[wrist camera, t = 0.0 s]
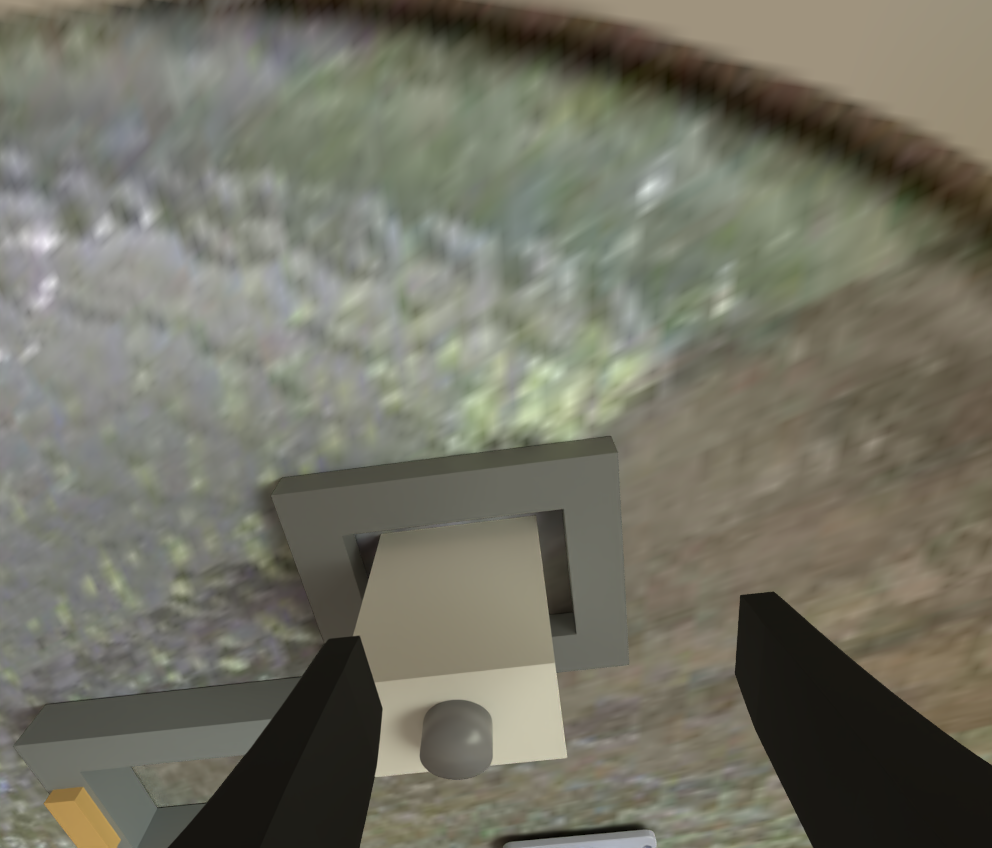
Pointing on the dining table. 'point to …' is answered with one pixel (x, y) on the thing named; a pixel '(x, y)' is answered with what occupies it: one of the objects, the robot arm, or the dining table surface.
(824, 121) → the dining table surface
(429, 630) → the plug
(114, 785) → the port
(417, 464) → the square frame plate
